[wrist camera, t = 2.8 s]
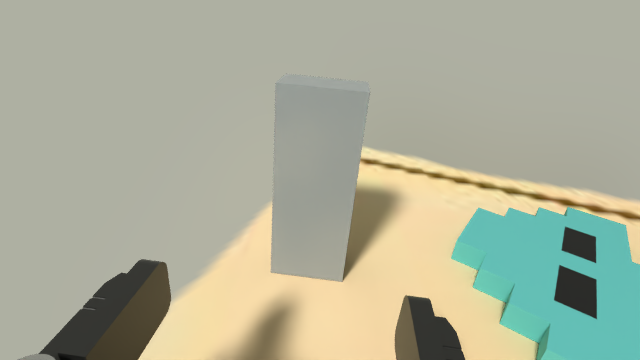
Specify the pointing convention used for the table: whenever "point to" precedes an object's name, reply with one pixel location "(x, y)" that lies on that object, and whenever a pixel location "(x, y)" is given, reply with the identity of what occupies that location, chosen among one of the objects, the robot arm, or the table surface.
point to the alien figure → (558, 280)
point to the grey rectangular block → (315, 172)
